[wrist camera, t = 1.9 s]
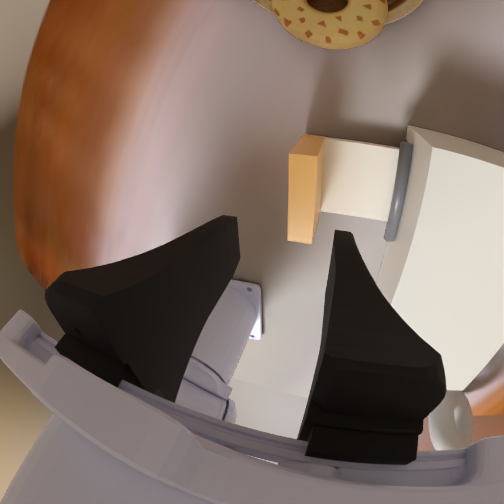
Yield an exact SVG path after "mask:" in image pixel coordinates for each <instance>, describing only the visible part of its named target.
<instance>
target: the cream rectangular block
mask: <svg viewBox="0 0 504 504" xmlns="http://www.w3.org/2000/svg"><path fill="white" fill-rule="evenodd" d="M406 140H407V141H408V142H405V141H400V149H399V157H398V164H397V171H396V177H395V183H394V189H393V195H392V200H391V206H390V211H389V216H388V220H387V225H386V230H385V234H384V239H385V240H387V241H388V242H387V246H386V250H385V254H384V257H383V261H382V265H381V269H380V272H379V276H378V279H377V282H376V285H377V286H378V288H379V289H380V291H381V292H382V294H383V295H384V297H385V298H386V300H387V301H388V302H389V303H390V305H391V306H392V307H393V308H394V309H395V311H396V312H397V313H398V314H399V315H400V317H401V318H402V319H403V320H404V321H405V322H406V323H407V324H408V325H409V326H410V327H411V328H412V329H413V330H414V331H415V332H416V333H417V334H418V335H419V336H420V337H421V338H422V339H423V340H424V341H426V342H427V343H428V344H429V345H430V346H431V347H433V348H434V349H435V350H436V351H437V352H438V353H440V354H441V356H442V361H443V366H444V370H445V377H446V389H447V390H458V391H463V390H464V389H465V388H466V387H467V386H468V385H469V383H470V382H471V381H472V380H473V379H474V378H475V377H476V376H477V375H478V374H479V373H480V371H481V370H482V369H483V368H484V367H485V366H486V364H487V363H488V362H489V361H490V360H491V358H492V357H493V356H494V355H495V354H496V352H497V351H498V350H499V348H500V347H501V346H502V345H503V343H504V152H501V151H499V150H496V149H493V148H490V147H487V146H484V145H481V144H478V143H475V142H472V141H469V140H465V139H462V138H458V137H455V136H451V135H448V134H444V133H440V132H436V131H432V130H428V129H423V128H419V127H414V126H410V125H408V127H407V136H406Z"/></svg>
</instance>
